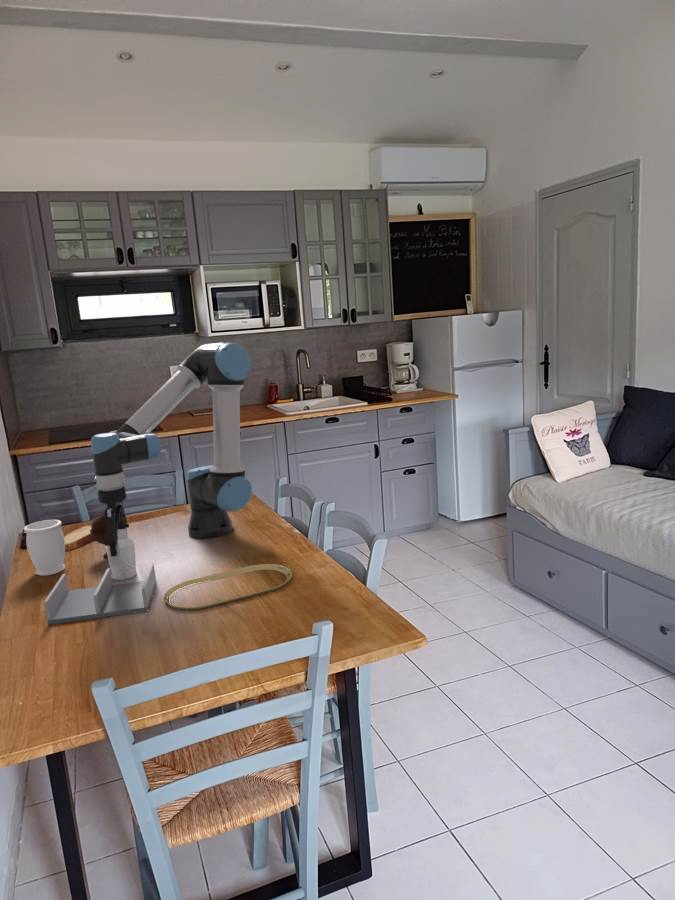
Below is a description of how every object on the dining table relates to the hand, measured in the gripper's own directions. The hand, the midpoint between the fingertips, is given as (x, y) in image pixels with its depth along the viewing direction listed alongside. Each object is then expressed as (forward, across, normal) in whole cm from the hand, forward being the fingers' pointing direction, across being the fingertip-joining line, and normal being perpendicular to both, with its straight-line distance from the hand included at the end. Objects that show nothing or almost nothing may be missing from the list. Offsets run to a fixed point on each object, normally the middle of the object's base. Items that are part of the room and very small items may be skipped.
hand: (120, 557), depth 184 cm
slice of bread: (+6, -40, -20) cm, 45 cm away
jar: (+6, -12, -24) cm, 27 cm away
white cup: (+6, 0, 0) cm, 6 cm away
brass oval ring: (+6, +19, +32) cm, 37 cm away
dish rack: (+6, +18, -2) cm, 19 cm away
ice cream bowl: (+6, -19, -7) cm, 21 cm away
